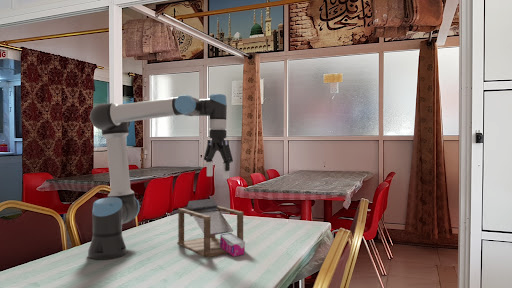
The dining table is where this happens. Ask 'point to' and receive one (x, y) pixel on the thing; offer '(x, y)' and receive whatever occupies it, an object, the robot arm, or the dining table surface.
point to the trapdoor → (216, 218)
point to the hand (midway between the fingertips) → (217, 177)
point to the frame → (206, 233)
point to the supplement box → (232, 244)
